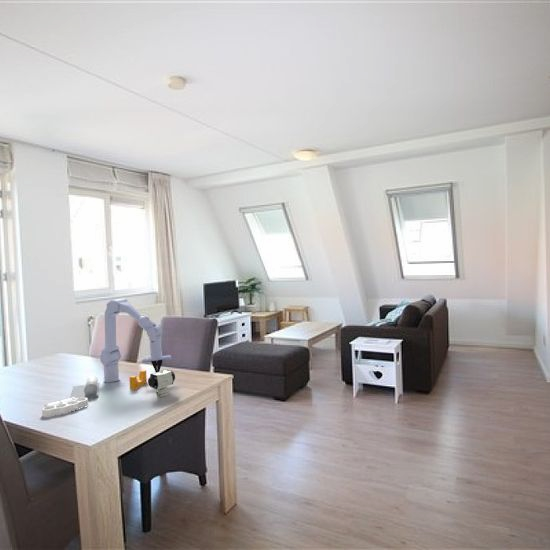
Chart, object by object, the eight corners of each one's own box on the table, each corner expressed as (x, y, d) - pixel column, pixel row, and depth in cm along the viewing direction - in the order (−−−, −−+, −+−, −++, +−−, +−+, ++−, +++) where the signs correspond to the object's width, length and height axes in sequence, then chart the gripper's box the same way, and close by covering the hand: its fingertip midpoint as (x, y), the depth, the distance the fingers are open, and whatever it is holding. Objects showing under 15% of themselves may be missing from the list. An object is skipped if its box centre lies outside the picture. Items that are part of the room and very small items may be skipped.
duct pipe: (73, 388, 204) (72, 376, 204) (99, 384, 209) (98, 372, 208) (69, 402, 184) (68, 388, 183) (98, 397, 188) (97, 384, 188)
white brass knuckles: (80, 401, 186) (92, 408, 176) (36, 412, 174) (47, 421, 163) (79, 393, 186) (92, 400, 176) (36, 404, 173) (46, 412, 163)
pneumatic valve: (148, 398, 185) (147, 372, 185) (170, 391, 194) (169, 366, 193) (155, 400, 181) (153, 374, 181) (177, 393, 190) (176, 368, 190)
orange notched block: (138, 382, 211) (138, 370, 211) (146, 382, 210) (146, 370, 210) (126, 389, 199) (126, 377, 199) (134, 390, 198) (134, 377, 198)
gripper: (141, 352, 202) (143, 379, 202) (171, 348, 207) (172, 374, 208) (140, 349, 208) (142, 375, 209) (169, 346, 214) (171, 371, 214)
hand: (157, 375), depth 209 cm, fingers closed
